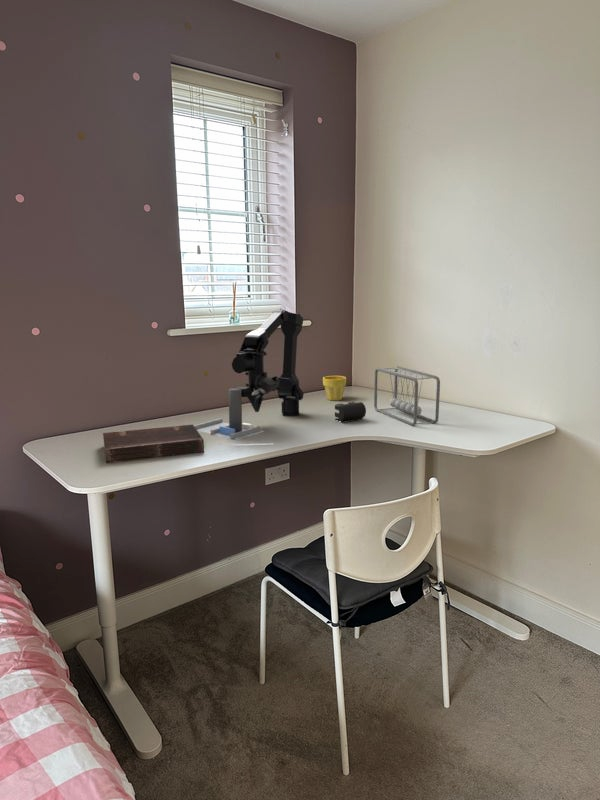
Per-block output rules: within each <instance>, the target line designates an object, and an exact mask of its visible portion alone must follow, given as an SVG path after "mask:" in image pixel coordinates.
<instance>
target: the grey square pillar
mask: <svg viewBox="0 0 600 800" xmlns="http://www.w3.org/2000/svg"><path fill="white" fill-rule="evenodd" d="M242 398H243V397H242V393H241V389H238V388H235V387H233V388H229V389H228V421H229V422H228V423H229V428H232V429H235V433H237V432H240V431H242V423H243V408H242V407H243V405H242V400H243V399H242Z"/></svg>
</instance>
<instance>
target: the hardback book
mask: <svg viewBox="0 0 600 800" xmlns="http://www.w3.org/2000/svg"><path fill="white" fill-rule="evenodd" d="M193 425H194V424H184V425H183V424H181V425H175V426H161V427H153V428H152V427H151V428H142V429H130V430H122V431H111V432H103V433H102V437H103V438H102V439H103V448H104V449H103V450H104V456H105V462H106V464H113V463H122V462H123V463H124V462H130V461H140V460H147V459H156V458H157V459H159V458H166V457H174V456H175V457H176V456H182V455H183V456H184V455H192V454H200V453H201V454H202V453H205V444H204V443H205V441H204V438H203V437H202V436H201V434H200V432H199V431H197V430H196V428H195V427H194V426H193Z"/></svg>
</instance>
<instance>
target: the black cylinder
mask: <svg viewBox="0 0 600 800" xmlns="http://www.w3.org/2000/svg"><path fill="white" fill-rule="evenodd" d="M334 410H336V411H338V412H334V417H335V419H334V421H336V420H338V421H337V422H339V421H341V422H340V423H345V421H347V422H353V421H358V420H359V419H360V420H362V419H363V418H365V416H366V415H367V409H366V405H365V404H364V403H363V402H361V401H358V402H355V401H351V402H347V403H345V404H344V403H341V402H340V403H336V404H335V405H334ZM352 420H353V421H352Z"/></svg>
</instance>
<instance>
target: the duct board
mask: <svg viewBox="0 0 600 800" xmlns="http://www.w3.org/2000/svg"><path fill="white" fill-rule="evenodd" d="M192 425H193V426H194V427H195V428H196V430H197V431H198V432H199V433H204V434H210V435H213V436H216V437H217V436H218V437H222V438H227V439H231V440H235V441H238V440H241V439H244V438H248V437H251V436H254V435H257V434H261V433H263V432H265V430H262V428H261V427H262V426H261V425H257V426H253V428H250V429H245V428H242V431H240V432H237V433H235V429H232V428H229V422H224V420H223V418H222V417H220V418H216V419H213V420H209V421H206V422H202V423H198V424H197V423H196V424H192Z"/></svg>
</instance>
